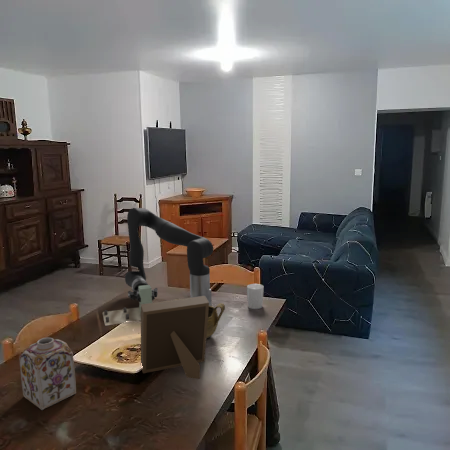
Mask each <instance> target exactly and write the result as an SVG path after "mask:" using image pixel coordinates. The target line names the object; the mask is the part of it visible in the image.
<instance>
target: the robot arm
mask: <svg viewBox="0 0 450 450" xmlns="http://www.w3.org/2000/svg"><path fill="white" fill-rule="evenodd" d="M126 220H127V230H128V239H129V259H128V261H129V262H128V263H129V266H130V267H132V268H137V269H138V271H136V270H135V271H134V270H133V271H132V270H131V271H127V272H126V273H125V275H124V282H125V283H126V285H127V286H129V287H131V290H132V291H131V290H128V291H127V297H128V298H129V299H131V300H132V301H135V300H136V301H137V302H138V303H139V302H141V297H140V295H139V286H143V285H149V284H148V282H147V275H146V272H145V266H144V258H145V255H144V254H145V253H144V252H145V250H144V247H143V243H142V241H141V239H140V236H139V235H140V234H139V227H147V228H149V229H151V230H153V231H154V232H155V234H156V236H157V237H158V238H160V239H161V240H163V241H164V242H167V243H169V244H172V245H178V246H184V247H186V257H187V268H188V270H189V293H190V294H189V295H190V297H189V298H192V297H199V296H205V297H206V298H207V300H208V302H209V306H212V304H213V303H212V302H213V301H212V289H211V282H210V281H211V276H210V275H211V274H210V270H211V269H210V267H209V266H208V265H206V264H204V259H206V258H208V257H210V256H211V255H212V254H213V253H214V245H213V243H212V242H211V240H210V239H208V238H206V237H204V236H200V235H198V234H195V233H193V232H190V231H188V230H186V229H184V228H183V227H181V226H179V225H177V224H175V223H173V222H171V221H168V220H166V219H165V218H162V217H161V216H160V217H159V216H158V215H156V214H155V213H154V212H152V211H151V210H149V209H147V208H144V207H132V208H130V209H129V210H128V212H127V219H126ZM157 297H158V287H155V288H153V289H152V301H154V300H155V298H157ZM212 307H213V306H212Z"/></svg>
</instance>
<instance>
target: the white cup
mask: <svg viewBox="0 0 450 450" xmlns="http://www.w3.org/2000/svg"><path fill="white" fill-rule="evenodd" d="M264 289H265V288H264V285H263V284H259V283H251V284H248V285H246V295H247V296H246V297H247V299H246V300H247V307H248V308H249V309H253V310H258V309H262V308H263V301H264Z"/></svg>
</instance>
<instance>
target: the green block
mask: <svg viewBox="0 0 450 450" xmlns="http://www.w3.org/2000/svg"><path fill="white" fill-rule="evenodd" d="M152 290H153V288H152V286H151V285H150V284H148V285H143V286H139V295H140V297H141V302H139V301H138V303H139V306H138V307H140V313H141V304H148V303H153V300H152Z"/></svg>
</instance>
